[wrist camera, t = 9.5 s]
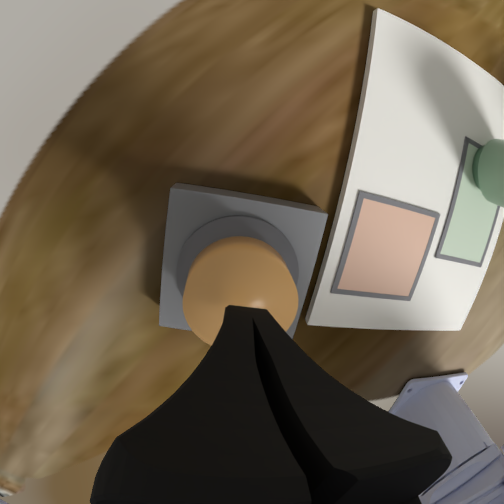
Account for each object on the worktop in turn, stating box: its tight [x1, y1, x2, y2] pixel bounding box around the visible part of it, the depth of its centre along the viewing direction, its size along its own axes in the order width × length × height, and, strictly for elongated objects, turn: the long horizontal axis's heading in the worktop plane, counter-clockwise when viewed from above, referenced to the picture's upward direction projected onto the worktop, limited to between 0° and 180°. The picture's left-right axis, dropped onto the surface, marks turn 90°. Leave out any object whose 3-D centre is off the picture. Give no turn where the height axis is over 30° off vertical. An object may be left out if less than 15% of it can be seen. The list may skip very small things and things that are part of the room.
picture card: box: [305, 8, 504, 331], centre depth 15 cm, size 18×13×1 cm
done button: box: [183, 236, 298, 345], centre depth 12 cm, size 4×4×2 cm
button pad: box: [159, 183, 328, 339], centre depth 15 cm, size 7×7×2 cm
